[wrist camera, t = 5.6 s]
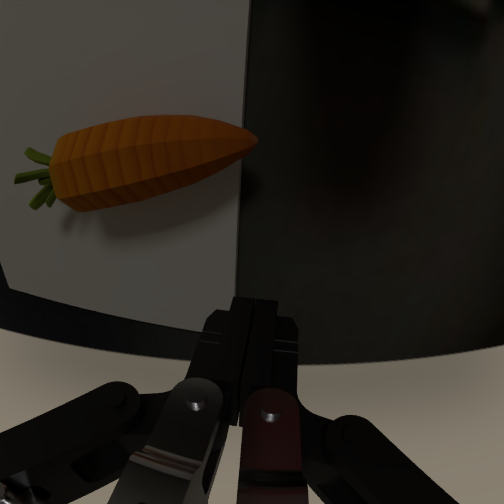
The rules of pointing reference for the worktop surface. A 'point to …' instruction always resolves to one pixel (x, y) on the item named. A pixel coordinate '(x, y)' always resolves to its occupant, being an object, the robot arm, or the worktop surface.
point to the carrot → (134, 160)
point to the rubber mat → (111, 109)
